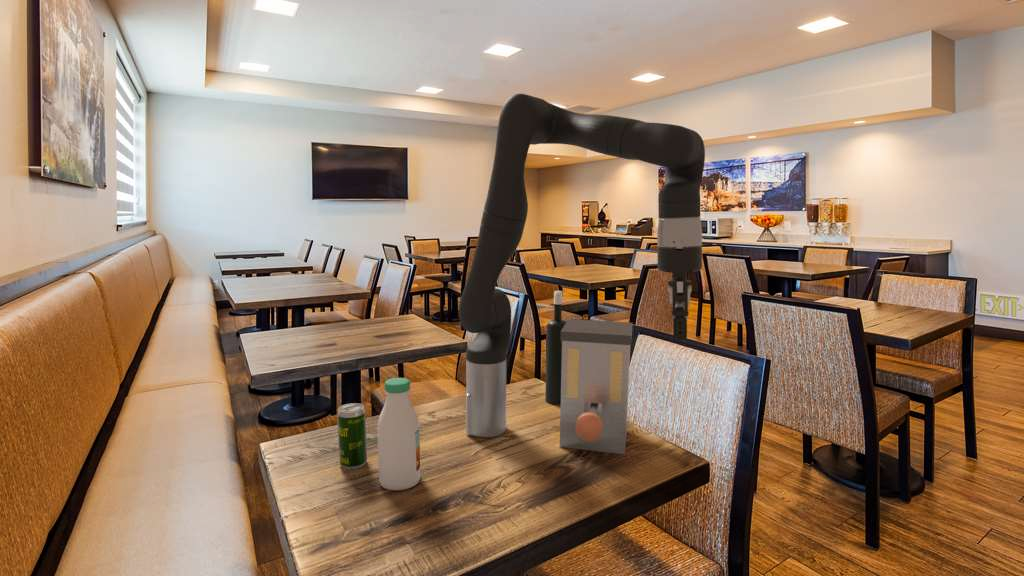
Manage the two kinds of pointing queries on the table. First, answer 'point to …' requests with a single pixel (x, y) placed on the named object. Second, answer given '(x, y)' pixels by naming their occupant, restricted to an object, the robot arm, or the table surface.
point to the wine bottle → (554, 353)
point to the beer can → (352, 436)
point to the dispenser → (595, 381)
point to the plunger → (589, 424)
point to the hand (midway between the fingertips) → (680, 334)
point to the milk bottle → (398, 438)
